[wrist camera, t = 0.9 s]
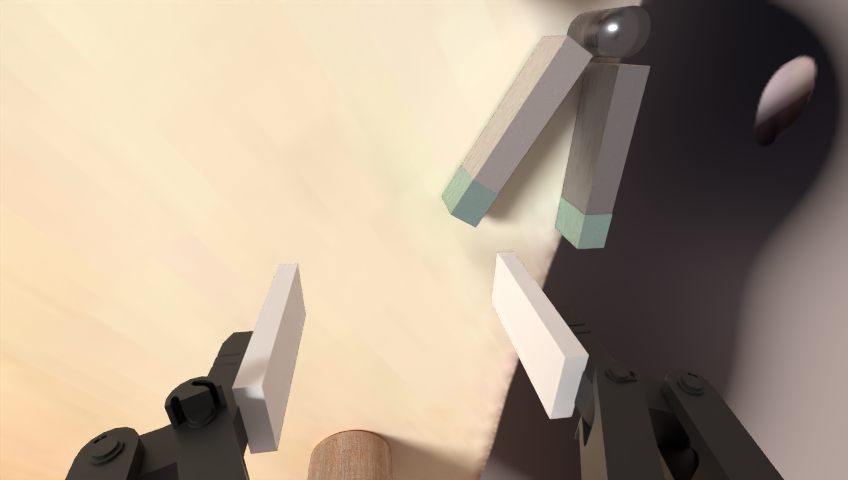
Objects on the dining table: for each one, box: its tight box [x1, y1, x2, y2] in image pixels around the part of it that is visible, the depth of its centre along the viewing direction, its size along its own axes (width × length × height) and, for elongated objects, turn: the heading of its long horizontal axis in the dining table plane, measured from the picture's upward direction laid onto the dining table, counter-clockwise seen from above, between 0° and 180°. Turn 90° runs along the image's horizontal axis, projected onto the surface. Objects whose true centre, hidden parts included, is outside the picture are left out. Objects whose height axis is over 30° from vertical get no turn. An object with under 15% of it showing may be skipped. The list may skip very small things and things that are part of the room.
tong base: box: [555, 6, 651, 249], centre depth 31 cm, size 18×4×6 cm, turn 179°
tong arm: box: [441, 36, 593, 227], centre depth 30 cm, size 15×2×4 cm, turn 149°
